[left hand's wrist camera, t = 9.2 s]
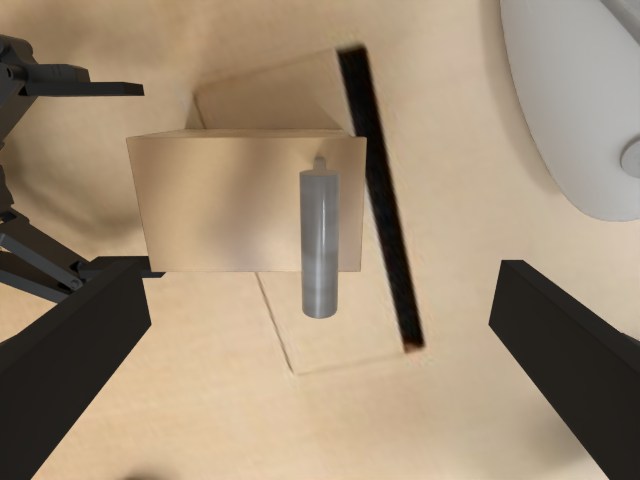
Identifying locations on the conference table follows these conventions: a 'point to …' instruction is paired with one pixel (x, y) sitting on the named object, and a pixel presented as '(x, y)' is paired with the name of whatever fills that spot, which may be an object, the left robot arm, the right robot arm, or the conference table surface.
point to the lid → (254, 207)
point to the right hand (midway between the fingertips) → (152, 185)
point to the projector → (581, 96)
